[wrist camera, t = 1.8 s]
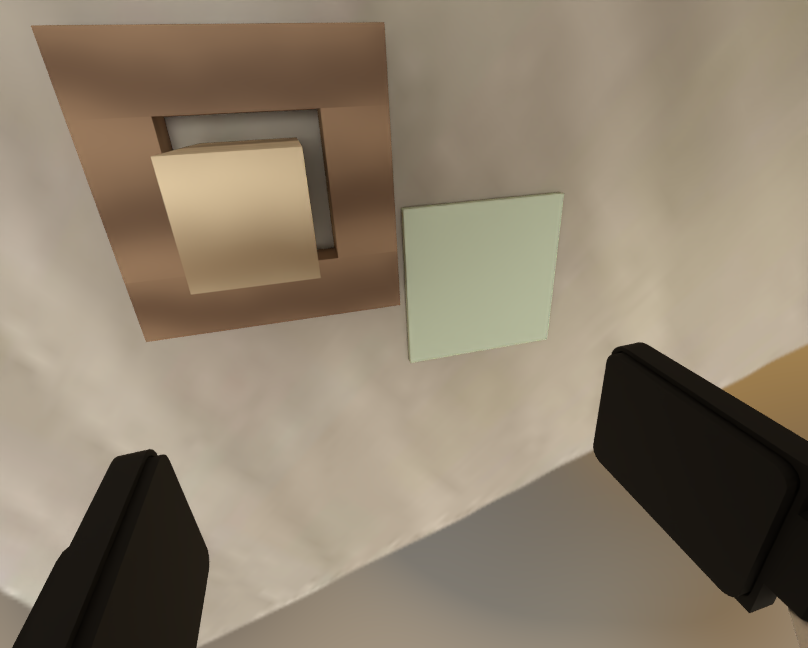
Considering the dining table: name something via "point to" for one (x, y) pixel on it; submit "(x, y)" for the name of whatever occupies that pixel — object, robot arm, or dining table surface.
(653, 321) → the dining table surface
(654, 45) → the dining table surface
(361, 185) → the cradle board
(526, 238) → the pad
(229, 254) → the beech block
